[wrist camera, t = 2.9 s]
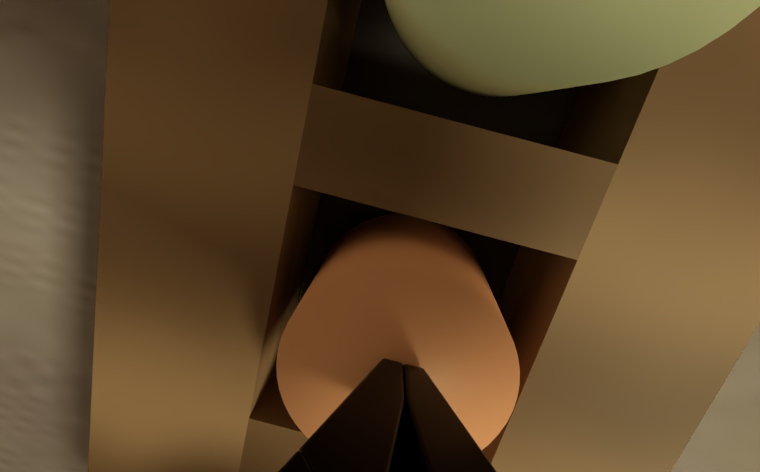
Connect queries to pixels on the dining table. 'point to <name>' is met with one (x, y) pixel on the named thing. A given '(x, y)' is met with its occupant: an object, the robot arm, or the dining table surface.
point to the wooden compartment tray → (421, 200)
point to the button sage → (555, 39)
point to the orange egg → (400, 325)
